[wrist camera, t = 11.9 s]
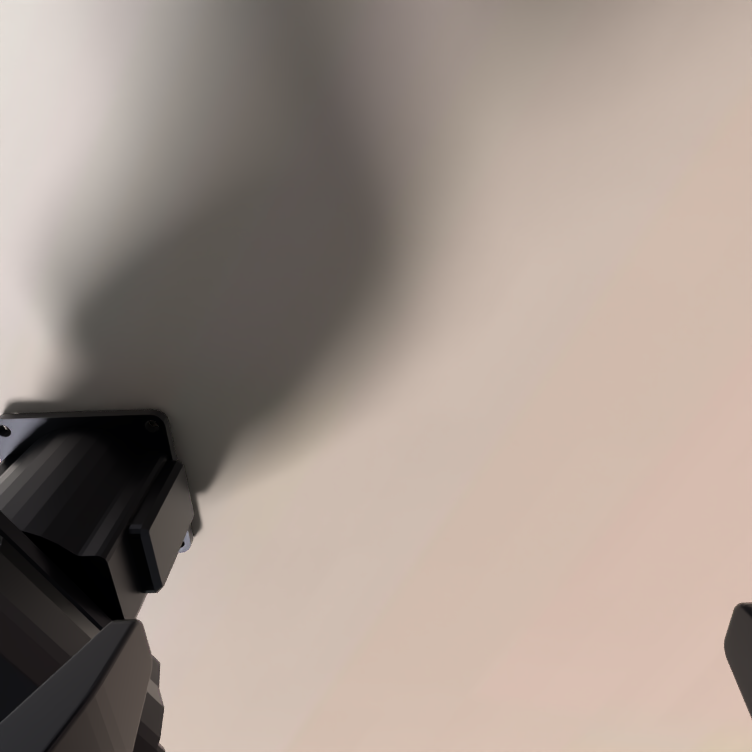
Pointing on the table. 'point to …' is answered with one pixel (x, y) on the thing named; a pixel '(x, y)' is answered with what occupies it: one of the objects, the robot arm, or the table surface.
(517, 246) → the table surface
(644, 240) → the table surface
